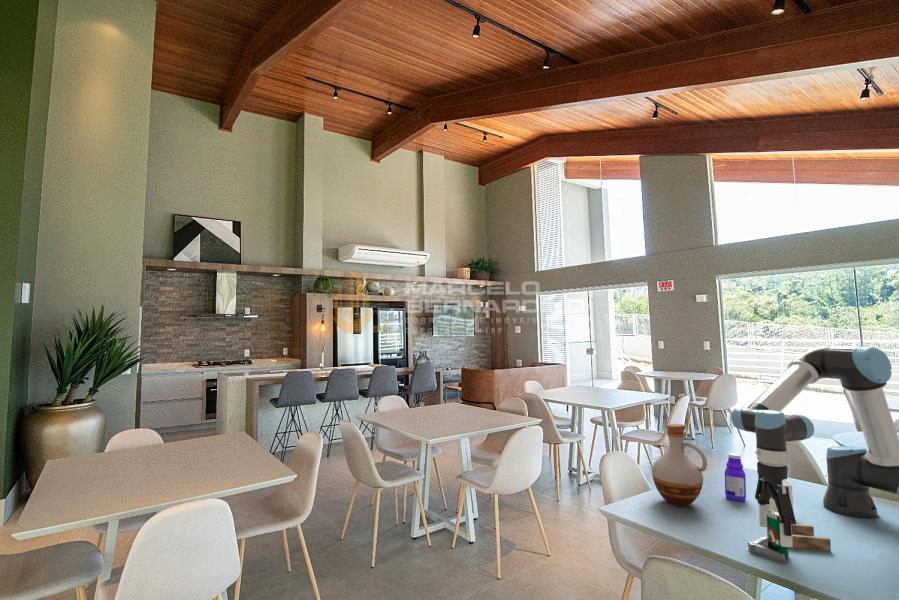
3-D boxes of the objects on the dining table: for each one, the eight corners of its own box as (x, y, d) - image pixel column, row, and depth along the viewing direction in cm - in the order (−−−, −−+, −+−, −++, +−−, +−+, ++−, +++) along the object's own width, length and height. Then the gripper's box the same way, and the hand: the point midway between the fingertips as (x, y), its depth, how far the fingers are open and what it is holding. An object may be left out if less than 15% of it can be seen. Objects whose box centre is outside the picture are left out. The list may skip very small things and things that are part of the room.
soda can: (787, 553, 136) (785, 511, 137) (790, 560, 131) (788, 517, 132) (766, 549, 138) (765, 508, 139) (769, 556, 134) (767, 514, 135)
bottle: (746, 498, 181) (744, 453, 182) (746, 503, 176) (744, 457, 177) (725, 495, 185) (723, 451, 186) (724, 499, 180) (723, 454, 181)
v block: (767, 545, 141) (766, 536, 141) (786, 564, 129) (786, 555, 129) (741, 542, 143) (741, 534, 143) (758, 561, 131) (758, 552, 131)
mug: (785, 524, 156) (784, 488, 157) (757, 516, 163) (756, 482, 164) (798, 516, 163) (796, 482, 164) (770, 509, 170) (769, 476, 171)
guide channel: (811, 536, 147) (811, 525, 147) (831, 551, 137) (830, 539, 137) (770, 532, 150) (769, 521, 150) (785, 547, 140) (785, 535, 140)
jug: (714, 504, 175) (712, 424, 177) (702, 517, 162) (699, 432, 164) (661, 492, 188) (659, 418, 190) (645, 503, 175) (643, 424, 177)
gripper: (741, 451, 150) (744, 518, 148) (777, 474, 126) (781, 554, 124) (767, 453, 148) (770, 520, 147) (808, 476, 124) (813, 557, 122)
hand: (775, 536), depth 135 cm, fingers open, 13 cm apart
